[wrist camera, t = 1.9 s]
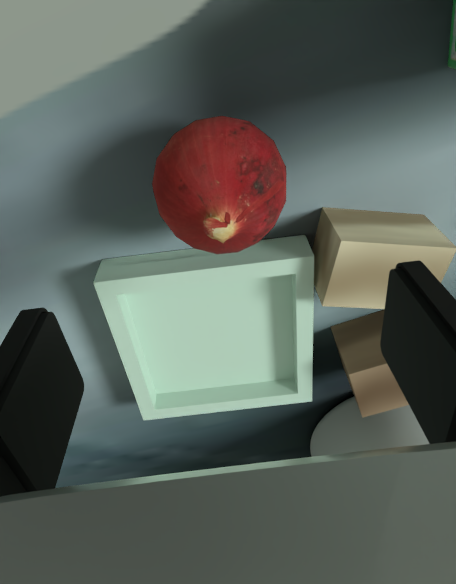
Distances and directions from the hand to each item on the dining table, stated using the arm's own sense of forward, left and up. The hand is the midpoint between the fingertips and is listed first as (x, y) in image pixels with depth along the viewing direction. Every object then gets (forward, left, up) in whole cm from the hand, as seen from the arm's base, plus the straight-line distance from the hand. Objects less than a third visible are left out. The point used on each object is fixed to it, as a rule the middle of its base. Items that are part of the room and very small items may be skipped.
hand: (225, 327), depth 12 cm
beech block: (+5, +8, -13) cm, 16 cm away
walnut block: (+13, +9, -13) cm, 21 cm away
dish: (+10, -1, -12) cm, 16 cm away
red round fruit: (-1, 0, -13) cm, 13 cm away
